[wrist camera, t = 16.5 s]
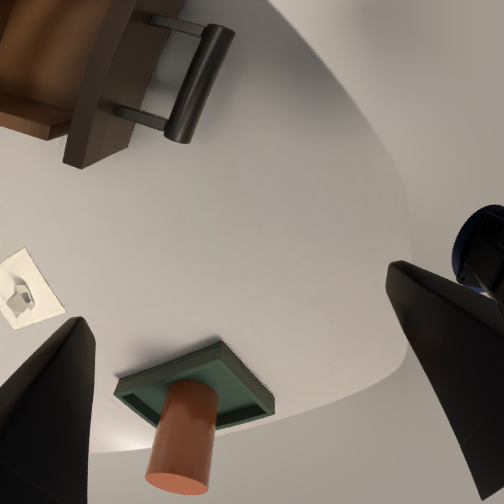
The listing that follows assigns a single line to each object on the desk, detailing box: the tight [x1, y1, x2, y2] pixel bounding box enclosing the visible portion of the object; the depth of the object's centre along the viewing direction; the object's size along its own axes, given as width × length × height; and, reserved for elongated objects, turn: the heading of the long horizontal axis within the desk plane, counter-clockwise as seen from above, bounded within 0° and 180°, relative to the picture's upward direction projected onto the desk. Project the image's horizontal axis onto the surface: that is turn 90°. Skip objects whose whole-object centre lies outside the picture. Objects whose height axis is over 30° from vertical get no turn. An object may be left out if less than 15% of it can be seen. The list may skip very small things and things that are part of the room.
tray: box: [113, 341, 275, 430], centre depth 29 cm, size 13×9×2 cm
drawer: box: [0, 0, 235, 169], centre depth 13 cm, size 18×10×6 cm, turn 67°
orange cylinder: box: [145, 380, 219, 495], centre depth 25 cm, size 5×5×10 cm
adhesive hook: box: [0, 284, 36, 320], centre depth 24 cm, size 3×3×3 cm
